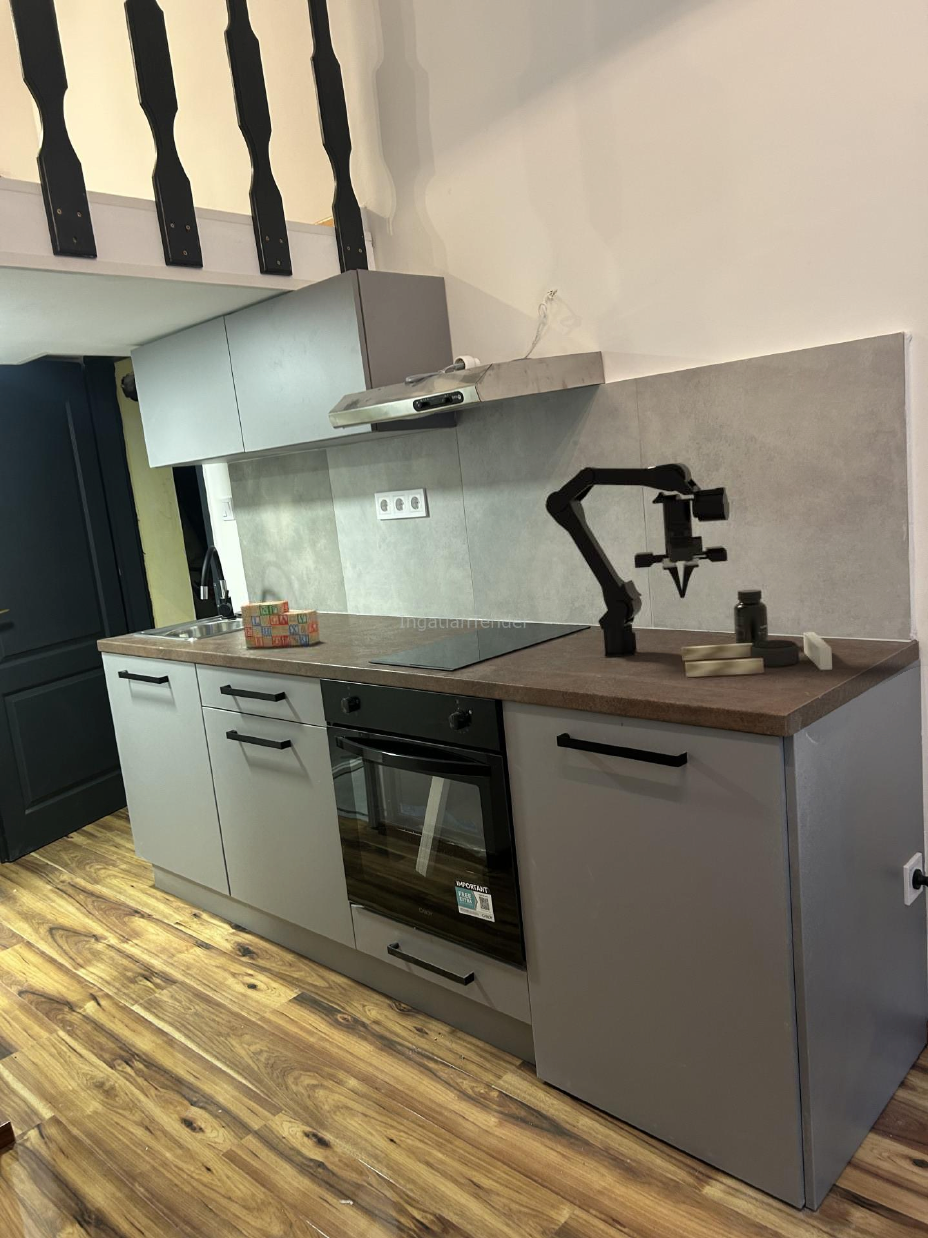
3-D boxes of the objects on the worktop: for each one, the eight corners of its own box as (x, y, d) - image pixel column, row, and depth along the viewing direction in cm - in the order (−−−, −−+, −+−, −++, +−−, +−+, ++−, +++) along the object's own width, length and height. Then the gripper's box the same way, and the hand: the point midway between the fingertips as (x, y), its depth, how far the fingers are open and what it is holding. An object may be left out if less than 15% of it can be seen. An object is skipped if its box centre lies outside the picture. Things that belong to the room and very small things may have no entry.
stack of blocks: (320, 641, 261) (315, 599, 259) (309, 645, 255) (304, 602, 254) (257, 643, 269) (252, 602, 267) (245, 647, 263) (240, 605, 261)
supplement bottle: (770, 648, 190) (767, 591, 188) (736, 650, 191) (733, 594, 190) (766, 642, 196) (763, 587, 195) (734, 644, 198) (731, 589, 196)
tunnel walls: (686, 677, 171) (685, 664, 171) (682, 659, 188) (681, 647, 187) (763, 672, 168) (763, 659, 168) (752, 655, 185) (751, 643, 184)
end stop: (820, 669, 166) (819, 648, 166) (804, 652, 183) (803, 632, 182) (832, 669, 166) (831, 647, 165) (814, 651, 182) (813, 631, 182)
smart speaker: (804, 659, 177) (803, 639, 176) (791, 669, 170) (790, 648, 169) (759, 658, 182) (758, 638, 181) (744, 667, 175) (743, 647, 174)
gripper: (632, 530, 183) (637, 606, 185) (727, 521, 179) (732, 599, 181) (632, 526, 194) (637, 599, 196) (722, 519, 190) (726, 592, 192)
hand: (682, 597), depth 191 cm, fingers closed
